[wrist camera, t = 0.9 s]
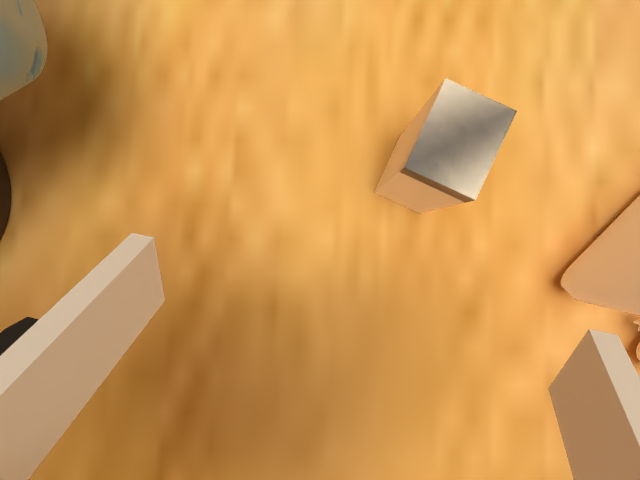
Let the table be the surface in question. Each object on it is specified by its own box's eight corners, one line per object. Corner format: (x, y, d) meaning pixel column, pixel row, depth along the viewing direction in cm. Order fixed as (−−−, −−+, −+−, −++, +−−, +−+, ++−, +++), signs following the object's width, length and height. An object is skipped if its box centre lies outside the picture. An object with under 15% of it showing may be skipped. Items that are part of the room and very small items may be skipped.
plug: (373, 192, 33) (404, 167, 21) (399, 135, 33) (445, 77, 21) (419, 213, 33) (475, 200, 21) (445, 156, 33) (516, 111, 21)
